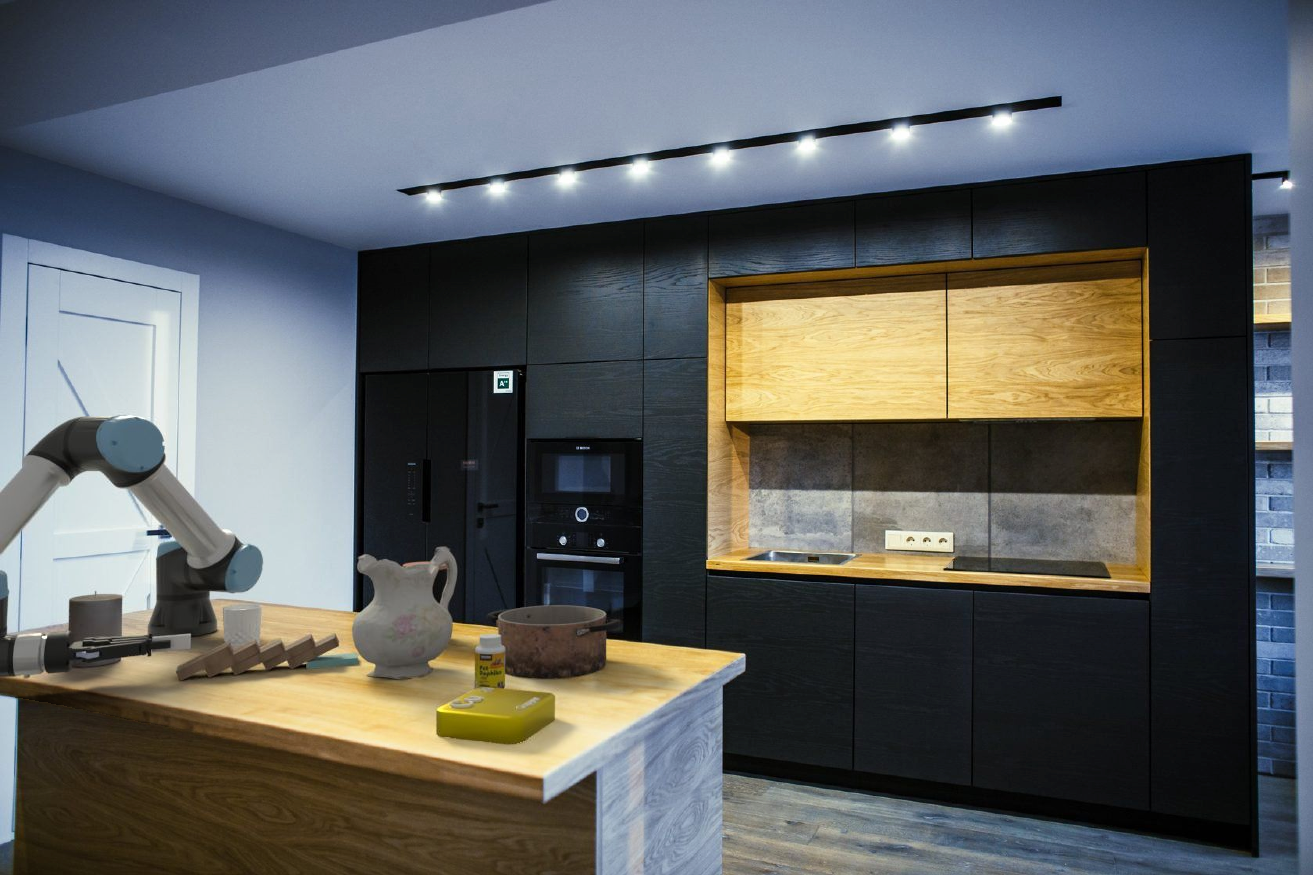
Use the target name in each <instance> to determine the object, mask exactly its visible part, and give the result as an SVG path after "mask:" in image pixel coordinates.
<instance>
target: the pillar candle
mask: <svg viewBox="0 0 1313 875" xmlns="http://www.w3.org/2000/svg"><path fill="white" fill-rule="evenodd" d="M123 597H124V596H123V594H117V593H97V590H94V594H85V595H78V596H74V597H70V598H69V600H68V630H67V631H71V632H72V633H73V637H74V638H73V640H74V642H79V641H83V640H85V638H89V637H97V636H100V637H117V636H123V635H122V634H123ZM121 659H122V658H116V659H108V660H100V661H95V662H91V663H86V662H82V660H73V664H72V667H71V668H73V667H74V668H85V667H86V668H87V667H99V666H104V665H109V664H110V665H111V664H114V663H117V662H118V661H120V660H121Z"/></svg>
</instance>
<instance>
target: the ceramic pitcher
mask: <svg viewBox="0 0 1313 875" xmlns="http://www.w3.org/2000/svg"><path fill="white" fill-rule="evenodd" d="M434 550H435V551H434V556H433V557H432V559H431V560H430V561H429V562H430V563H429V564H415V565H412V566H407V567H405V568H404V567H403V565H402V566H401V565H400V564H399V563H398V562H396V561H393V560H389V559H387V558H384V559H379V560H377V558H375V557H374V556H372V555H370V554H365V553H364V554H362V555H360V556H358V557H357V559H358V562H357V571H358V572H359V573H360V574H363V575H366V576H368V577H369V578H370V579H371V581H372V584H373V589H374V597H373V599H372V601H371V602H370V603H369V604H368V605H367V606H365V607H364V608H363V610H362V611H360V612H359V613H357V614H356V615H355V617H354V619H353V622H352V626H351V633H352V635H351V636H352V640H353V643H354V647H355V649H356V651H357V654H359V656H361V658H362V659H364V661H366V662H368V663H371V664H374V665H375V666H374V669H373V671H371V672H369V673H367V674H366V676H367V677H379V678H383V677H384V678H389V679H395V680H404V679H405V680H406V679H410V678H423V677H424V676H426V675H428V674H431V672H433V670H434V668H433V667H431V665H430V664H429V662H431V661H433V660H434V661H435V659H437V658H438V657H439V656H440V655H442V653H443V652H444V651H445V650H446V648H447V647H448V645H449V643H450V641H451V638H452V635H453V628H454V627H453V626H454V625H453V618H452V614H451V613H450V611H449V612H448V603H449V604H450V600H451V599H452V597H453V595H454V591H455V587H456V583H457V578H458V577H457V576H458V565H457V561H456V559H455V556H454V555H453V553H452V552H451V548H449V547H447V545H445V546H444V545H442V546H439V547H436V548H435V549H434ZM443 564H445V565H446V567H447V583H446V585H445V588H444V590H443V594H442V598H441V602H440V604H439V603H437V601H436V600H435V599H434V597H433V593H432V587H433V583H434V579H435V577H436V575H437V573H438V569H439V567H440V566H441V565H443Z"/></svg>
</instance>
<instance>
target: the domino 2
mask: <svg viewBox="0 0 1313 875" xmlns="http://www.w3.org/2000/svg"><path fill="white" fill-rule="evenodd" d="M260 647H261V646H260V643H259V644H258V642H257V641H256V639H253V640H251V641H249V642H247V643H245V644H243V645H241V646H239V647H237V648H235V649H234V650H233V655H231V656H229V657H227V658H225V659H223V660H221V661H219V662H217V663H215V664H213V665H211V666H209V667H207V668H205V669H203V670H204V671H205V673H206V675H207V677H208V679H210V678H212V677H214V676H215V675H218V674H219V673H221V672H223V671H225V670H228V669H229V668H230V669H231V667H232V666H233V665H235V664H237V663H239V662H241V661H243V660H245V659H247V658H249V657H251V656H253V655H255V654H257V653H259V652H260Z"/></svg>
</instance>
